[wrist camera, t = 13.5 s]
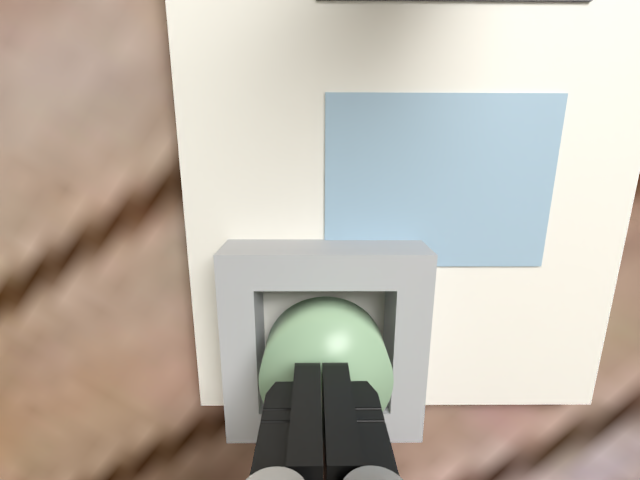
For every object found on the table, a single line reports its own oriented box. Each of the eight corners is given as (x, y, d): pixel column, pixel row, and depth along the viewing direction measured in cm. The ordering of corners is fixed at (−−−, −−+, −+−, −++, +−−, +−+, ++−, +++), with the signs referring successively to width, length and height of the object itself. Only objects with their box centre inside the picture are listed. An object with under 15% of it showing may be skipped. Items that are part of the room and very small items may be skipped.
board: (720, -359, 11) (874, -551, 8) (574, 388, 17) (629, 441, 14) (145, -368, 10) (79, -564, 8) (207, 390, 16) (184, 443, 13)
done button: (385, 296, 12) (397, 321, 11) (380, 400, 13) (390, 439, 12) (264, 296, 12) (255, 321, 11) (268, 401, 13) (261, 439, 12)
